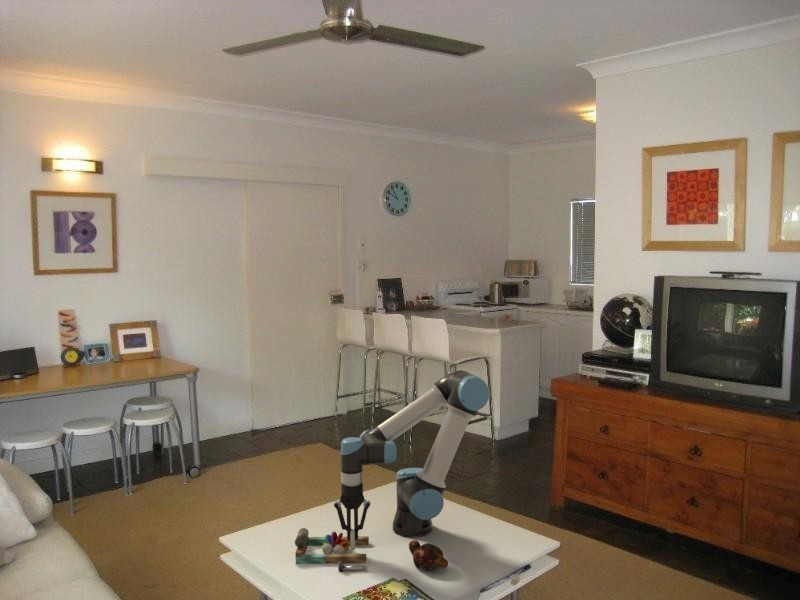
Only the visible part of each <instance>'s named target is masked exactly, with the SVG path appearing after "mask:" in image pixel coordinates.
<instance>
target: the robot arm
mask: <svg viewBox="0 0 800 600" xmlns="http://www.w3.org/2000/svg"><path fill="white" fill-rule="evenodd" d="M489 398H490V391H489V387H488V385H487V383H486V382H485V381H484V380H483V379H482V378H481V377H479V376H477V375H475V374H473V373H470V372H469V371H466V370H454V371H452V372H450V373H448V374H446V375H445V376H443V377H442V378H440V379H439V380H437V381H435V382H434V383H433V384H432V385H431V389H429V390H428V391H426V392H425V393H423V394H422V395H420V396H419V397H417V398H416V399H414V400H413V401H412V402H410V403H409V404H408V405H406V406H405V407H404V408H401V410H398V412H397V413H395V414H393V415H392V416H391V417H389V418H388V419H386V420H385V421H383V422H382V423H381V424H379V425H377V426H376V427H375V428H373V429H367V430H364V431H363V432H362V433H360V435H359V437H354V436H350V437H349V436H348V437H345V438H344V439H342V440H341V442H340V469H341V470H340V478H341V479H340V480H341V481H340V482H341V484H340V485H341V486H340V487H341V491H340V492H341V493H340V494H341V495H340V497H339V499H338V500H335V501H334V503H333V506H334V508H335V510H336V511H337V512H336V513H337V515H338V519H339V522H340V527H341V530H345V531H346V537H347V539H348V540H350V546H349V549H350V551H356V550H355V549H356V546H355V540H358V536H359V531H360V530H363V529H364V524H365V521H366V517H367V512H368V509H369V508H370V506H371V501H370V500H367V499H365V496H364V485H363V478H364V477H363V475H364V474H363V473H364V470H363V467H364V466H368V465H371V466H372V465H384V464H385V465H386V464H387V465H388V464H391V463H394V462H395V461H396V460H397V454H398V453H397V446H396V443H395V442H394V440H395V439H397V438H399V436H401V435H402V434H404V433H406V432H407V431H408V430H410V429H411V428H412V427H414V426H415V425H417V424H419V422H421V421H423V420H424V419H426V418H427V417H428V416H430V415H431V414H433V413H434V412H435V411H437V410H438V409H440V408H441V407H446V408H447V412H446V413H445V416H444V418H443V421H442V423H441V425H440V428H439V431H438V433H437V434H436V438H435V439H434V442H433V444H432V447H431V450H430V452H429V453H428V456H427V459H426V461H425V463H424V465H423V468H422V467H408V468H407V467H406V468H402V469H400V470H398V471H397V472H396V478H395V481H396V510H395V511H396V512H395V514H394V518H393V521H392V531H393V533H395V534H397V535H399V536H401V537H410V538H414V537H415V538H417V537H422V536H426V535H429V534H430V533H431V532H432V531H433V521H432V519H435V518H436V517H437V516H439V515H440V513H441V512H442V511H443V508H444V504H445V502H444V497H443V495H444V493H445V490H446V488H447V485H446V482H445V479H446V476H447V475H448V472H449V470H450V468H451V465H452V462H453V460H454V458H455V455H456V453H457V451H458V449H459V445H460V443H461V441H462V440H463V437H464V434H465V431H466V429H467V427H468V424H469V423H470V420H471V419H475V418H476V417H477V414H478V412H479V410H482V409H483V408H484V407H486V405H487V404H488V402H489V400H490V399H489ZM342 505H343V507H344V508H345V509H346V520H345V517H344V513H343V509H342ZM362 505H363V510H362V514H361V519H360V522H359V509H360V507H361V506H362ZM352 510H353V520H354V521H353V528H352V516H351V514H352V512H351V511H352Z"/></svg>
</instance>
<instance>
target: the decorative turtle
mask: <svg viewBox="0 0 800 600" xmlns="http://www.w3.org/2000/svg"><path fill="white" fill-rule="evenodd" d="M408 549H409V551H410V553H411V555H412V560H413V564H414V566H415V568H417V569H419V568H421V567H423V569H424V570H425V571H426V572H430V571H431V570H432V568H433V567H438V568H441V569H444V570H445V569H446V568H447V567H448V566H449V560H447V558H445V556H444V554H445V553H444V551H443V550H442V549H441V548H440V547H439V546H437V545H435V544H434V543H427V542H426V543H423V544H421V542H420V541H419V540H415V539H414V540H413V539H412V540H410V542H409V543H408Z"/></svg>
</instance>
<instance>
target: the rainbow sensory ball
mask: <svg viewBox="0 0 800 600" xmlns="http://www.w3.org/2000/svg"><path fill="white" fill-rule="evenodd" d="M343 535H344V533H343V532H340V533H339V534H338V533H337V532H336V531H332V532H331V534H326V535H325V536H324V537H325V541H326V542H324V543H323V546H322V549H321V550H322V552H323V554H345V553H346V552H348V551H350V543H349V540H348V539H347V538H343V539H341V538H342V537H344V536H343Z"/></svg>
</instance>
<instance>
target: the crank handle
mask: <svg viewBox="0 0 800 600" xmlns="http://www.w3.org/2000/svg"><path fill="white" fill-rule="evenodd" d="M337 566H338V569H337V570H338V572H339V573H344V572H367V571H368V568H369V567H368V566H367V565H345V564H344V562H343V561H339V562H338V564H337Z"/></svg>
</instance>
